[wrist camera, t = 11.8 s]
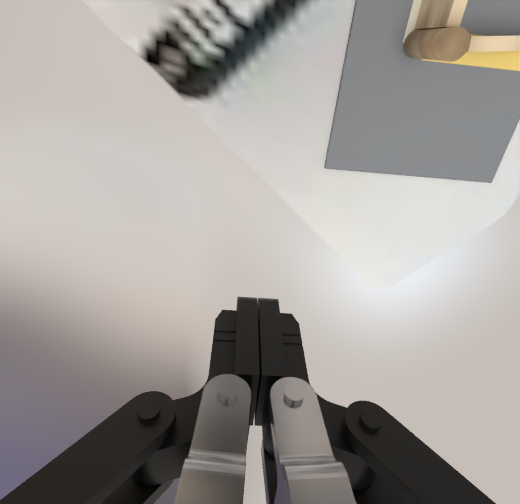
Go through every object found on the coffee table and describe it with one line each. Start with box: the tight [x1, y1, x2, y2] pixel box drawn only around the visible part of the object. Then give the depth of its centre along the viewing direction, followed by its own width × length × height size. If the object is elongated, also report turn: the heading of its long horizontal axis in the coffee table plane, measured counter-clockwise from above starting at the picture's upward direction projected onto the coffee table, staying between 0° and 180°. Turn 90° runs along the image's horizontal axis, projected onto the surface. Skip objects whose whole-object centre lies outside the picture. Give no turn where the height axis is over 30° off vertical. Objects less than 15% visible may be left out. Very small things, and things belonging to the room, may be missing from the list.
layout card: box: [325, 0, 520, 183], centre depth 32 cm, size 28×18×1 cm, turn 175°
